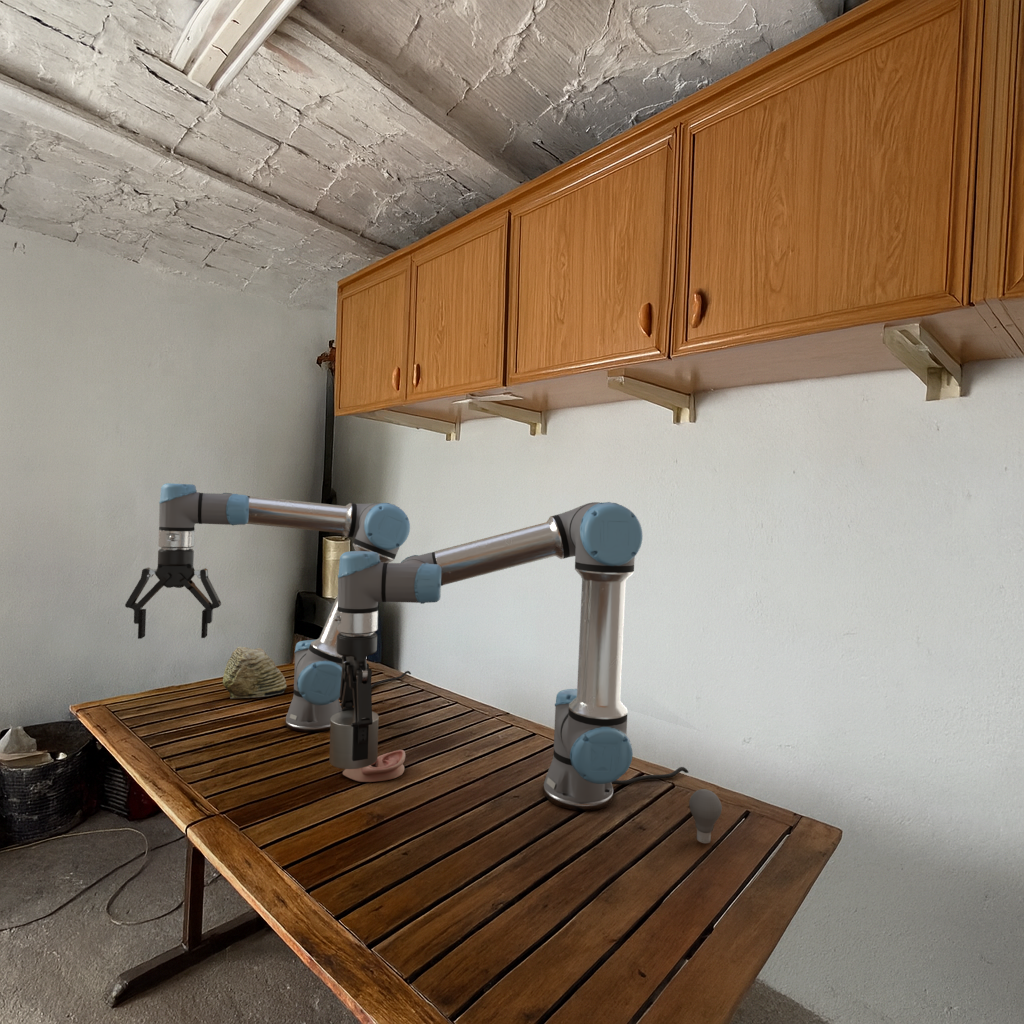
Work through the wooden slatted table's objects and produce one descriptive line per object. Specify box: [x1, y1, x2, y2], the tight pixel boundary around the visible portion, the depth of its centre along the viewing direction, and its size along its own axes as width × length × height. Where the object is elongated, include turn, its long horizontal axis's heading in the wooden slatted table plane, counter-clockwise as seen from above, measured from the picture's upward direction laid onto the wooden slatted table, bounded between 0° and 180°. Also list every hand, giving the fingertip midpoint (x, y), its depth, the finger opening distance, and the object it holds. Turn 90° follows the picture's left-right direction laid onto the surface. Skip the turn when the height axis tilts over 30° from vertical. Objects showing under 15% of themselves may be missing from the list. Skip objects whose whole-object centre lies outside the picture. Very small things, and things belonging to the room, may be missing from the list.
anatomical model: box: [342, 749, 406, 783], centre depth 146 cm, size 13×4×12 cm
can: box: [328, 710, 379, 770], centre depth 121 cm, size 9×9×8 cm
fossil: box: [222, 646, 288, 699], centre depth 198 cm, size 9×18×15 cm, turn 132°
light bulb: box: [688, 788, 723, 844], centre depth 122 cm, size 6×6×10 cm
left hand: (173, 637), depth 151 cm, fingers open, 13 cm apart
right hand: (353, 749), depth 121 cm, fingers closed on can, 9 cm apart
